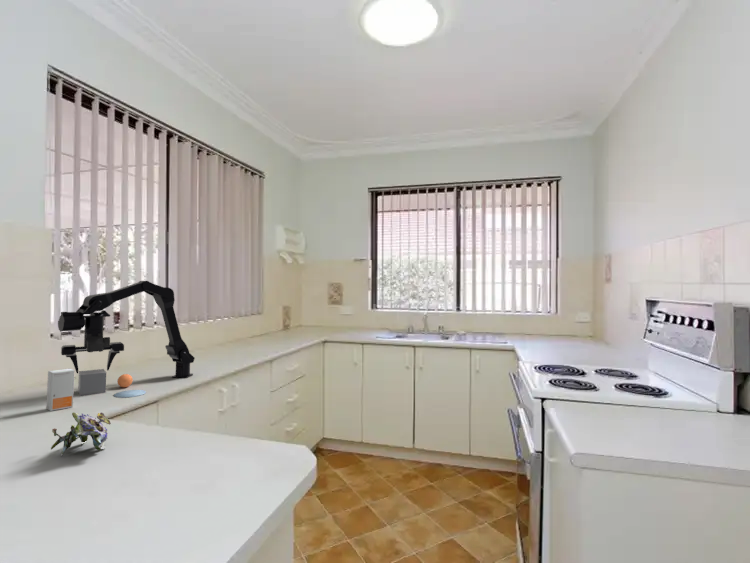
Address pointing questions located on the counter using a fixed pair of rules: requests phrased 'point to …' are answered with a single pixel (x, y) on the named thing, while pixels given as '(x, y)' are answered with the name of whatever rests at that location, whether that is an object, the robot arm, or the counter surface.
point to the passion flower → (85, 431)
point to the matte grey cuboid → (92, 382)
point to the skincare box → (60, 389)
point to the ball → (125, 380)
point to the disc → (129, 393)
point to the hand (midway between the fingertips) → (92, 371)
